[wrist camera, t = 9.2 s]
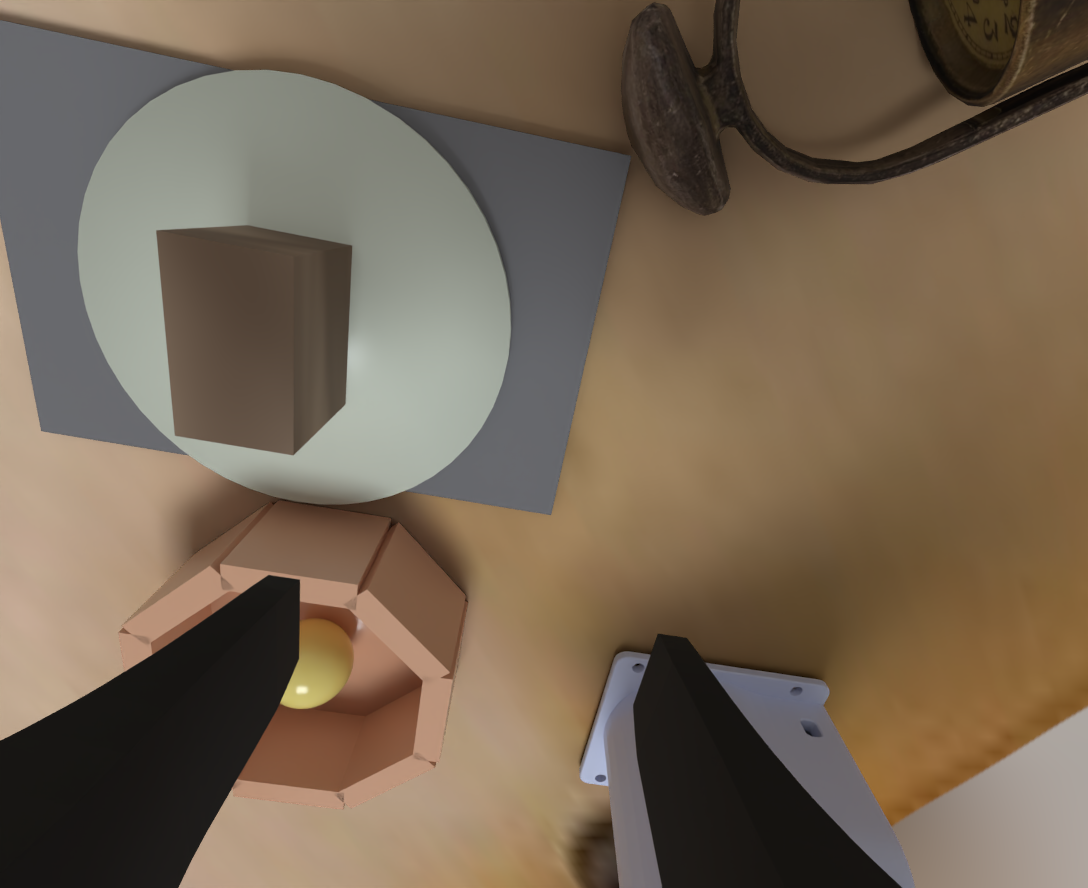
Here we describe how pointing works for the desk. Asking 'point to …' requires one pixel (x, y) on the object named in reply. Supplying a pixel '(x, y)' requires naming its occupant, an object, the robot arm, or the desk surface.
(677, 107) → the dark brown handled piece
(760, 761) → the robot arm
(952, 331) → the desk surface
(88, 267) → the lid
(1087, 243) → the desk surface
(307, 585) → the bowl
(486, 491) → the mat
